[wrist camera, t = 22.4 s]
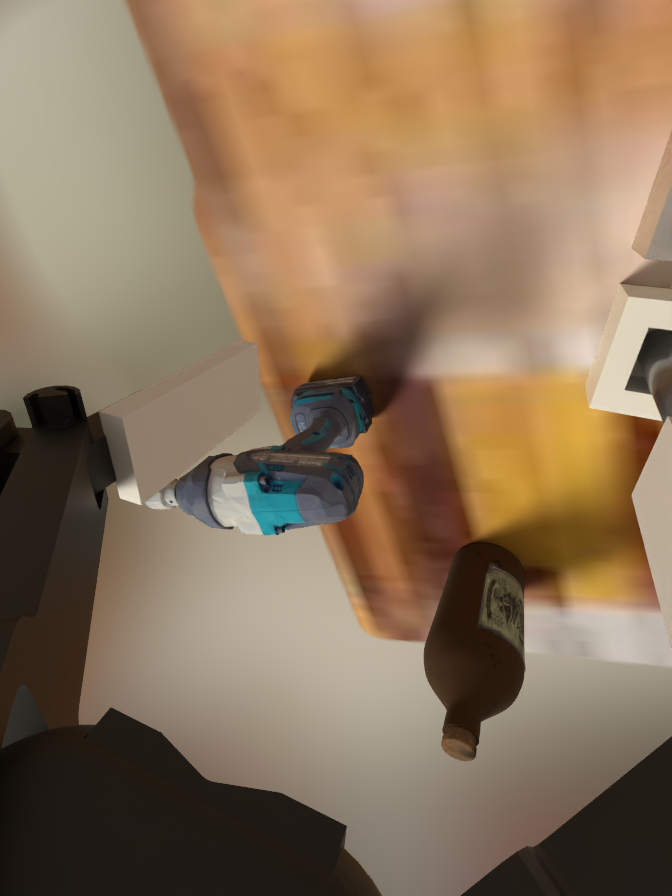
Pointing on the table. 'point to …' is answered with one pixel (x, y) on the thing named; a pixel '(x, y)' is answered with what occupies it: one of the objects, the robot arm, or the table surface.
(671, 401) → the smooth metal cylinder
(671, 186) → the grey post stand
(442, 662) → the olive oil
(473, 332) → the table surface
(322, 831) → the robot arm
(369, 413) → the impact wrench
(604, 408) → the cream square block
